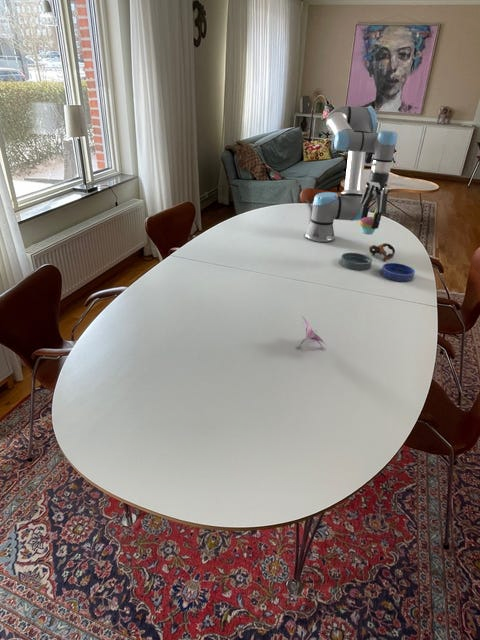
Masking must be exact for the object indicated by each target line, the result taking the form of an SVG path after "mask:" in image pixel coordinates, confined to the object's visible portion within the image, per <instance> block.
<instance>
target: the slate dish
mask: <svg viewBox="0 0 480 640" xmlns="http://www.w3.org/2000/svg"><path fill="white" fill-rule="evenodd" d="M372 262H373V259H372V258H371V257H370V256H369V255H366V254H364V253H359V252H344V253H343V254H341V257H340V264H341V265H342V266H343V267H345V268H347V269H350V270H355V271H364V270H365V271H366V270H369V269H370V268H371V267H372Z"/></svg>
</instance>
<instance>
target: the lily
mask: <svg viewBox="0 0 480 640" xmlns="http://www.w3.org/2000/svg"><path fill="white" fill-rule="evenodd" d="M300 316H301V318H302V319H303V320H304V322H305V323H304V322H303V323H301V324H302V325H303V326H304V327H305V337H304V339H302V341H301V342H300V343H299V345H298V347H297V348H298V349H300V347H301V346H302V344H303V343H304V342H305V340H306V339H307V340H308V339H310V340H313V341H315V342H317V343H318V345H319V346H320V348H321V349H324V347H323V345H322V343H323V344H324V345H327V344H326V342H324V339H322V337H321V336H320V335H318V334H317V331H318V330H316V329H315V331H314V330H313V328H312V327H311V326H310V324H309V322H308V321H307V319H306V318H305V317H304V316H303V315H301V314H300Z"/></svg>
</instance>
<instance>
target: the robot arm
mask: <svg viewBox="0 0 480 640" xmlns="http://www.w3.org/2000/svg"><path fill="white" fill-rule="evenodd" d="M377 123H378V116H377V111H376V110H375V109H374V108H372V107H367V106H348V105H341V106H338V107H335V108H333V109H332V110H331V111H330V112H329V113H328V114H327V117H326V119H325V124H326V128H327V130H328V131H329V132H331V133H333V135H334V139H333V140H334V141H333V147H334V150H336V151H340V152H348V153H347V159H346V161H347V162H346V171H345V179H344V180H345V181H344V189H343V190H342V191H341V192H340V196H339V194H338V193H336V192H332V191H325V192H319V193H317V194H315V195H314V198H313V201H312V205H311V203H310V201H309V200H308V199H307V196H304V200H305V202H307V204H308V206H309V208H310V212H311V213H310V214H311V215H310V216H311V218H310V222H309V225H308V226H307V229H306V231H305V235H304V236H305V238H306V239H307V240H309V241H313V242H317V243H330V242H333V241H334V240H335V230H334V221H335V220H337V221H350V222H353V221H355V222H356V221H357V222H358V221H360V220H361V219H362V218H364V217H369V211H370V204H371V202H372V200H373V198H375V210H376V213H375V215H374V214H373V215H374V219H373V224H372V229H375V230H377V229H379V227H378V226H380V224H379V222H381V219H382V216H383V215H384V214H386V213H387V205H388V204H387V203H388V195H389V192H390V189H389V188H386V183H388V181H389V177H390V172H391V169H392V163H393V158H394V154H395V150H396V145H397V142H398V133H397V132H396V131H393V130H379V132H376V130H377ZM367 153H373V158H372V164H371V169H370V170H371V171H370V173H369V178H368V180H369V181H366V182H365V184H364V189H363V190H362V188H363V181H364V173H365V171H364V170H365V164H366V154H367Z"/></svg>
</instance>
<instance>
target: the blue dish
mask: <svg viewBox="0 0 480 640" xmlns="http://www.w3.org/2000/svg"><path fill="white" fill-rule="evenodd" d="M380 274H381V275H382V276H383V277H385V278H386V279H388V280H392V281H395V282H410V281H412V280H413V279H414V277H415V274H416V270H415V269H414V268H413V267H411V266H410V265H407V264H404V263H399V262H386V263H383V264H382V266H381V270H380Z"/></svg>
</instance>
